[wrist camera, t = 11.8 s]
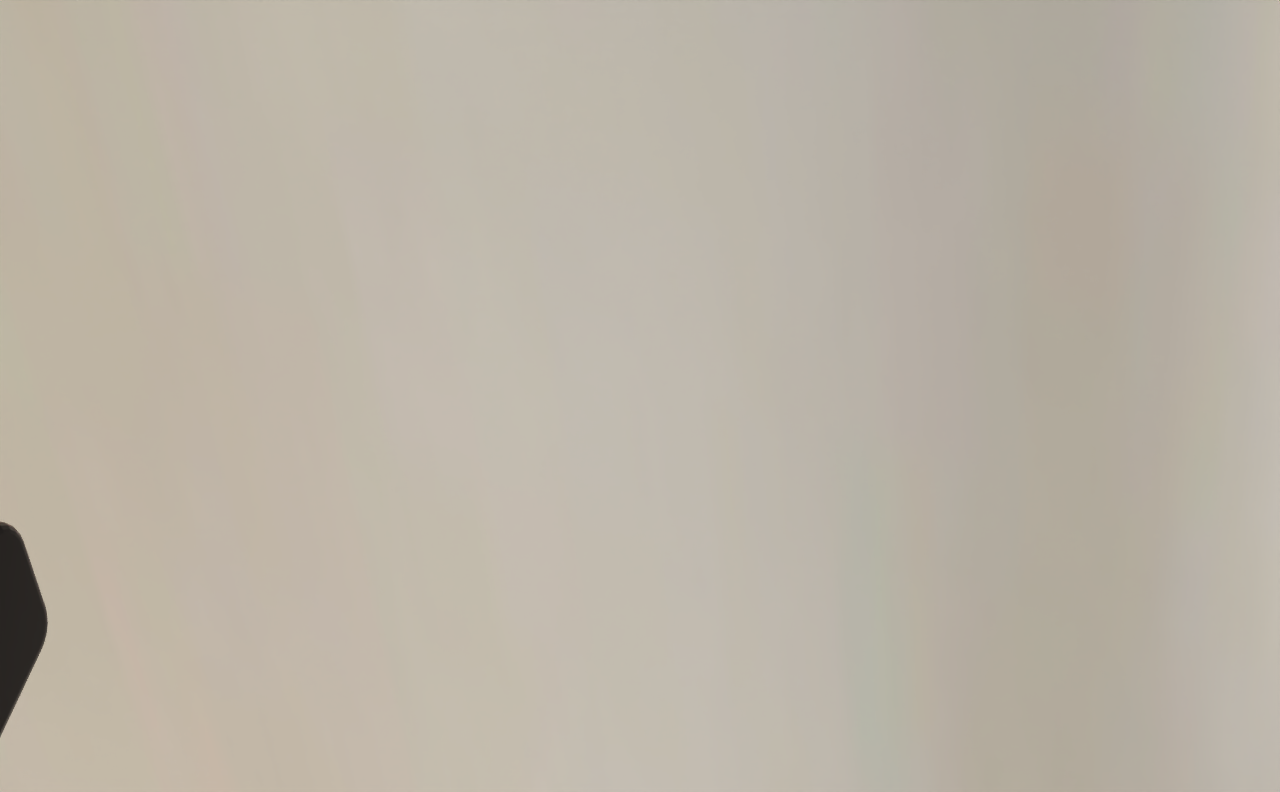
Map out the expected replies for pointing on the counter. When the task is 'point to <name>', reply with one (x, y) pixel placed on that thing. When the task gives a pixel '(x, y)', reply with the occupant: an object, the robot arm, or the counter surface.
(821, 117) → the counter surface
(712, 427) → the counter surface
